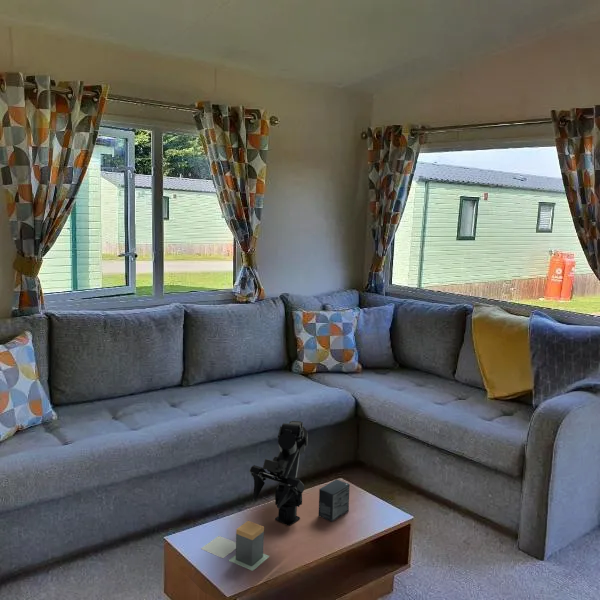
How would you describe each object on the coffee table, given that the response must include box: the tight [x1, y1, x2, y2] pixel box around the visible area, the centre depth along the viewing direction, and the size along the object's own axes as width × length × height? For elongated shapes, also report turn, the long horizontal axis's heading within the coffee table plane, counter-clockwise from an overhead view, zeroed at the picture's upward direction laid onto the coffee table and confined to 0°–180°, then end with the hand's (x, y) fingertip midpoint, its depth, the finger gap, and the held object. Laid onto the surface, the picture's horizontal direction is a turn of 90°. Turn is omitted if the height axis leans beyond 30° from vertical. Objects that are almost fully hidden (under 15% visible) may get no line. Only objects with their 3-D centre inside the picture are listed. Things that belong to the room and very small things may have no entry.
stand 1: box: [200, 535, 236, 559], centre depth 185 cm, size 9×9×1 cm
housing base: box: [235, 531, 265, 566], centre depth 179 cm, size 6×6×8 cm
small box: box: [318, 479, 350, 523], centre depth 209 cm, size 11×6×10 cm, turn 141°
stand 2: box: [228, 553, 270, 572], centre depth 179 cm, size 9×9×1 cm
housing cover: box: [235, 520, 265, 540], centre depth 178 cm, size 6×6×3 cm
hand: (265, 503), depth 187 cm, fingers open, 9 cm apart
